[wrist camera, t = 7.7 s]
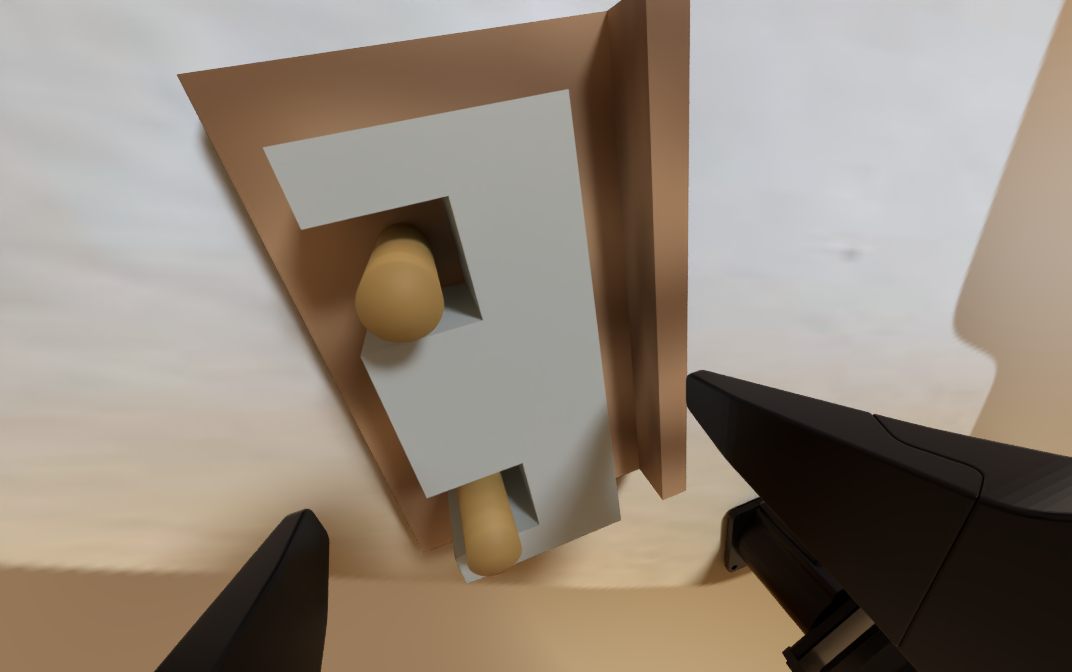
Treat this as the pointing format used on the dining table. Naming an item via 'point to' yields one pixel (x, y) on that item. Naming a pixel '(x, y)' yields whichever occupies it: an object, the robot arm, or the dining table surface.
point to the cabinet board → (426, 240)
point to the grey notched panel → (485, 308)
